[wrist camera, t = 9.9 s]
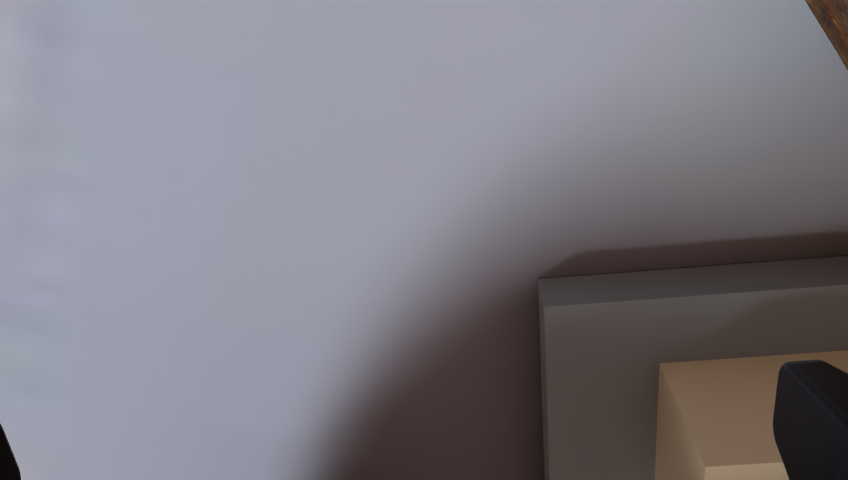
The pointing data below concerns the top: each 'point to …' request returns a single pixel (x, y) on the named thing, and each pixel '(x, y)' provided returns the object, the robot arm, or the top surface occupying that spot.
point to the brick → (833, 23)
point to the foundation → (680, 366)
